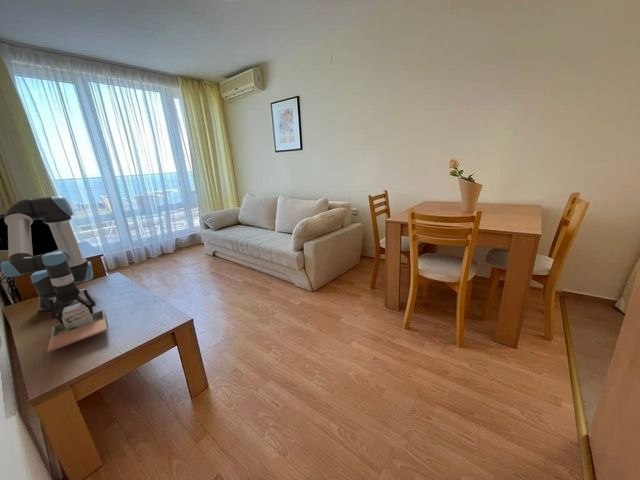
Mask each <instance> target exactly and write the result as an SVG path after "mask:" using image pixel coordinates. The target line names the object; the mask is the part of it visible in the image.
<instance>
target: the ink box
mask: <svg viewBox="0 0 640 480" xmlns="http://www.w3.org/2000/svg"><path fill="white" fill-rule="evenodd" d="M62 315H63V316H64V319H65V321H66V324H67V326H68V329H69V331H71V330H74V329H77V328H80V327H83V326H85V325H88V324H91V323H92V321H91V320H90V317H89V314H88V312H87V307H86V306H85V305H83V304H81V303H80V302H79V303H75V304H71V305H67V306H64V309H63V311H62Z"/></svg>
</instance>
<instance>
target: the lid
mask: <svg viewBox="0 0 640 480" xmlns="http://www.w3.org/2000/svg"><path fill="white" fill-rule="evenodd" d="M107 331H108V327H107V324H106V319H103V320H100V321H97V322H94V323H92V324H89V325H86V326H83V327H80V328H77V329H74V330H71V331H68V332H65V333H62V334H59V335H57V336H54V337H51V336H50V337H49V340H48V346H47V348H46V349H47V350H46V351H47V353H49V352H52V351H54V350H56V349H60V348H63V347H65V346H68V345H71V344H73V343H76V342H79V341H81V340H84V339H86V338H87V339H88V338H90V337H93V336H95V335H97V334H101V333H103V332H104V333H105V332H107Z"/></svg>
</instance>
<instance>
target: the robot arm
mask: <svg viewBox="0 0 640 480" xmlns="http://www.w3.org/2000/svg"><path fill="white" fill-rule="evenodd" d="M72 216H74V211H73V209H72V207H71V205H70V202H69V201H68V200H67V198H65V197H64V196H61V195H58V196H56V195H55V196H54V195H52V196H43V197H42V196H41V197H35V198H24V199H20V200H18V201H15V202H14V203H13V204H12V205H10V206H9V208H7V210H6V212H5V214H4V219H3V220H4V223H5V224H6V226H7V238H8V239H7V246H8V260H5V261H2V262H1V263H0V270H1V273H2V274H3V276H5V277H6V278H12V277H19V276H23V275H26V274H31V275H30V279H31V284H33V287H34V289H35V291H36V293H37V296H38V307H37V308H38V310H39V311H41V312H49V311H50V313H51V319H53V320H54V319H58V322H59V324H60V323H61V324H62V323H64V325H65V328H66V329H68V326H67V324H66V321H65V319H64V316H63V314H62V311H63V309H64V308H65V307H67V306H69V305H70V304H72V303H73V302H74V301H77V302H79V303H81V304H83V305H85V306H86V308H87V312H88V314H89V317H90V320H91V321H92V320H93V318H92V315H91V314H93V313H94V310H93V308H94V307H95V306H96V302H95V300H94V299H93V298H92V297H91V295H90V294H89V292H88V289H87V288H84V289H79V288H78V286H77V284H79V283H84V282H88V281H90V280H93V279H94V271H93V265H92V262H91V261H88V259H87V258H85V257H83V255H82V253H81V249H80V247H79V244H78V242H77V238H76V236H75V233H74V231H73V228H72V226H71V223H70V221H71V220H72V219H73V218H72ZM37 220H42V222H43V223H44V224H45V225H48V227H49V229H50V231H51V234H52V236H53V239H54V241H55V244H56V246H57V250H53V251H51V252H50V251H49V252H47V253H44V254H38V255H34V253H33V250H34V249H33V243H32V242H33V241H32V228H31V227H32V226H31V225H32V224H33V223H34V221H37ZM80 293H81V294H82V295H84V296H85V298H86V299H87V300H88V302H87V301H86V300H85V299H84V298H82V297H81V296H80ZM58 309H59V310H58ZM56 310H58V313H56Z"/></svg>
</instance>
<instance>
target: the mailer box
mask: <svg viewBox="0 0 640 480" xmlns="http://www.w3.org/2000/svg"><path fill="white" fill-rule="evenodd" d="M91 315H92V318H93V320H92V323H94V322H97V321H100V320H103V319H106V324H107V328H108V327H109V324H108V320H107V315H106V312H105V310H104V309H101V310H98V311H95V312H94V311H93V314H91ZM92 323H91V324H92ZM88 325H89V324H88ZM85 326H86V325H85ZM68 331H69V329H66V328H65V325H64V323H62V324H61V323H60V322H59V323H58V324H55V325H52V328H51V334H50V338H51V337H54V336H57V335H59V334H62V333H65V332H68Z"/></svg>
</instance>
